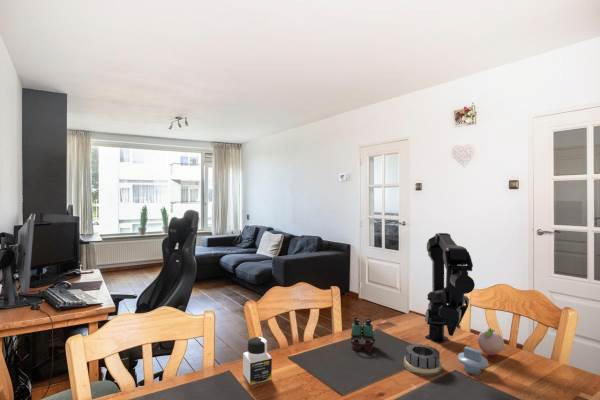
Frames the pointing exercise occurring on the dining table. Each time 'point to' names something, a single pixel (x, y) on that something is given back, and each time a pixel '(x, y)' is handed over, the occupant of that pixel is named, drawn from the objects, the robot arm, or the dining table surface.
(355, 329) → the binoculars
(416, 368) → the notched grey ring
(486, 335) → the decorative fruit
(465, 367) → the grey rounded piece
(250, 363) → the medicine bottle
